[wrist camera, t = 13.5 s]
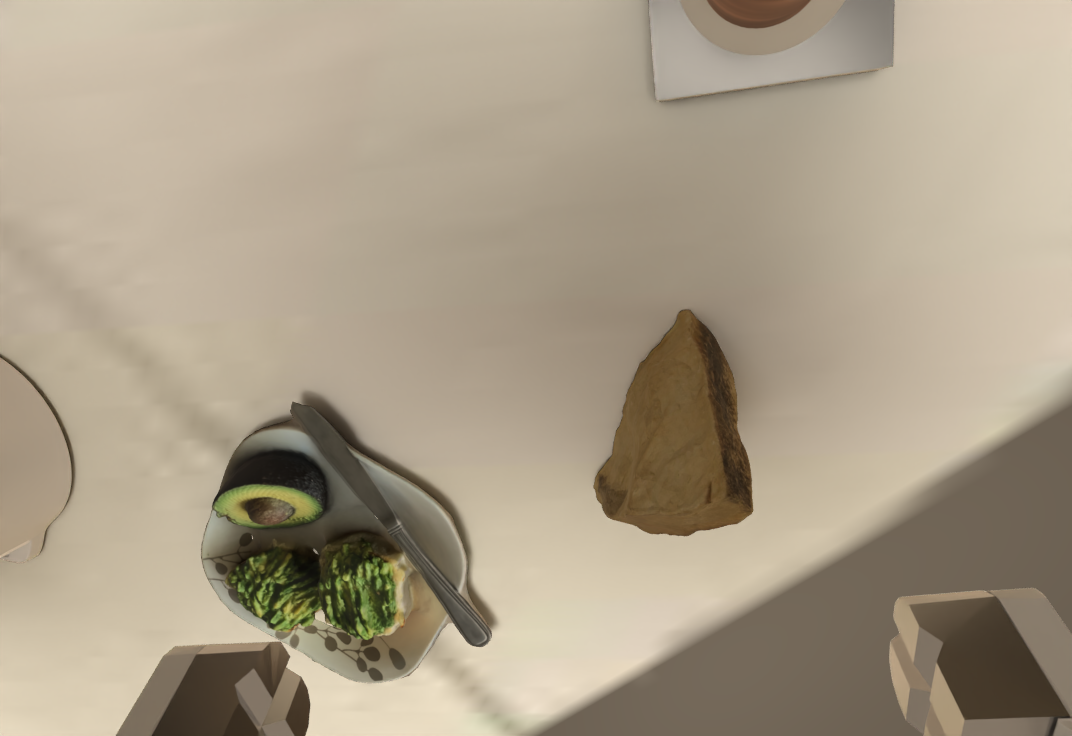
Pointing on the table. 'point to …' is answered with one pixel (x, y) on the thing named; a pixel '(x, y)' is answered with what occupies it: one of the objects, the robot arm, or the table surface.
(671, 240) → the table surface
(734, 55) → the plinth
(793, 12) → the pepper mill
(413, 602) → the plate of avocado toast
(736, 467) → the rock
